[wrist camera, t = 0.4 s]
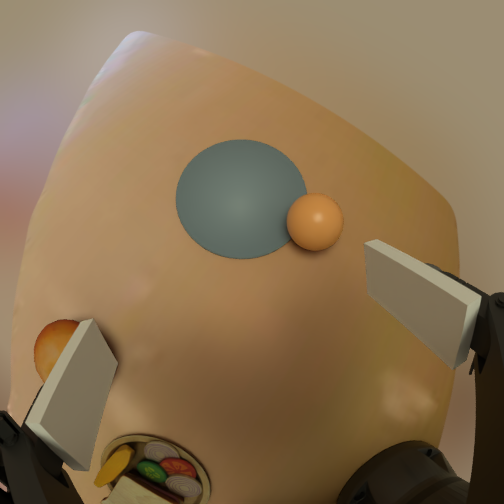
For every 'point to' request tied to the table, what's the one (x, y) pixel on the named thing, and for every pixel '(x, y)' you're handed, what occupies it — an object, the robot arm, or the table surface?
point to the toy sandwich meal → (151, 473)
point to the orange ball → (315, 221)
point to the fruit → (52, 345)
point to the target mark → (238, 198)
